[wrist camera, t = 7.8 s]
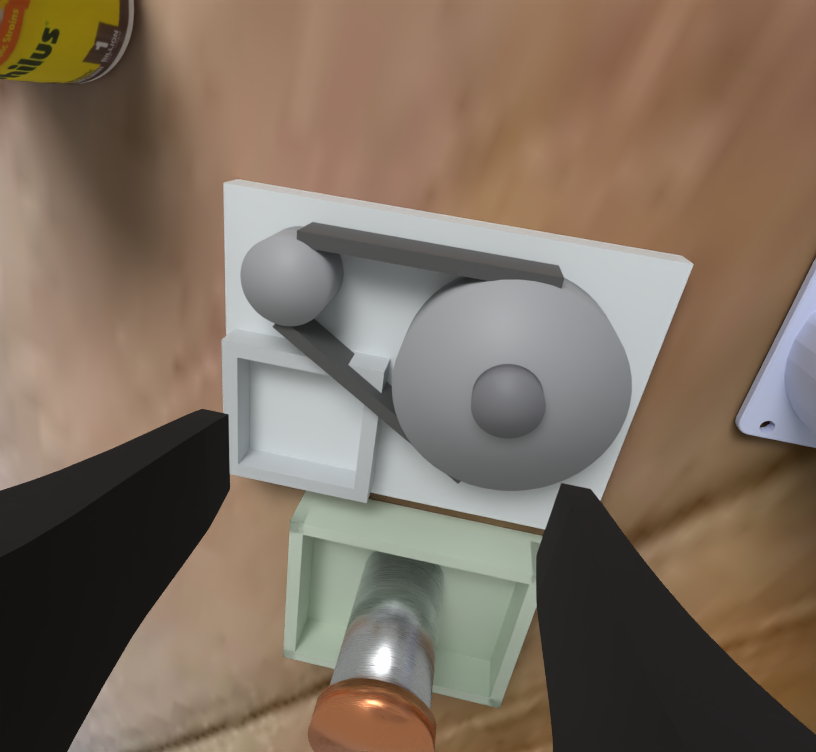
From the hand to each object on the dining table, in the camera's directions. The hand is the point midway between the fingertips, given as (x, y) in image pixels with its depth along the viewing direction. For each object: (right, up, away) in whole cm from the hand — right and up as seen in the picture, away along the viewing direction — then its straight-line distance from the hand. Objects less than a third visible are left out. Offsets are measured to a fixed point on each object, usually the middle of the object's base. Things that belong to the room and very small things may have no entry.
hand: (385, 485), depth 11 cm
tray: (+1, -8, +15) cm, 17 cm away
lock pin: (0, -7, +15) cm, 17 cm away
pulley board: (+1, +3, +10) cm, 11 cm away
